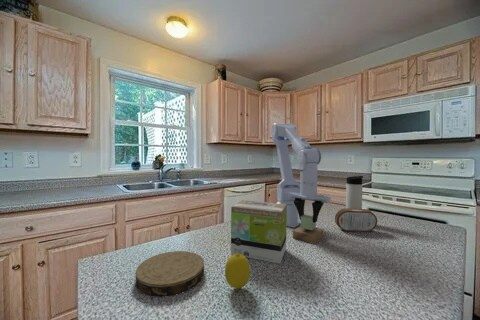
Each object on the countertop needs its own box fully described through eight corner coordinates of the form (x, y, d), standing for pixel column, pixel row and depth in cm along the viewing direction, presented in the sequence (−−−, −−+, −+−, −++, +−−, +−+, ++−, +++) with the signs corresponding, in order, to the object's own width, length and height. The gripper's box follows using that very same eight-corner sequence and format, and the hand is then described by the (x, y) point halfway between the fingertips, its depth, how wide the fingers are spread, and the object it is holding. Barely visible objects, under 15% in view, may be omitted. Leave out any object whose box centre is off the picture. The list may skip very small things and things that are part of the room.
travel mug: (365, 223, 95) (366, 176, 94) (349, 223, 95) (350, 176, 94) (357, 219, 101) (358, 175, 100) (343, 219, 101) (343, 175, 100)
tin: (374, 230, 87) (374, 208, 87) (378, 233, 84) (378, 210, 84) (334, 228, 89) (334, 207, 88) (337, 231, 86) (337, 209, 85)
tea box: (229, 256, 65) (229, 206, 65) (241, 243, 75) (241, 199, 74) (281, 265, 60) (281, 210, 60) (286, 249, 70) (287, 202, 69)
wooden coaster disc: (183, 304, 45) (183, 290, 45) (119, 291, 49) (119, 277, 49) (214, 266, 60) (214, 255, 60) (162, 258, 65) (162, 248, 64)
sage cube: (300, 227, 79) (300, 216, 79) (304, 224, 82) (305, 214, 82) (311, 230, 77) (311, 218, 77) (315, 227, 80) (315, 216, 80)
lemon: (224, 282, 52) (224, 248, 52) (248, 281, 53) (248, 247, 52) (225, 297, 47) (225, 259, 46) (251, 296, 47) (251, 258, 47)
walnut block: (292, 239, 79) (292, 230, 79) (301, 232, 85) (301, 224, 85) (315, 245, 74) (315, 236, 74) (323, 237, 80) (323, 229, 80)
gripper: (284, 182, 80) (284, 219, 81) (326, 185, 71) (325, 227, 72) (293, 180, 86) (293, 215, 86) (332, 183, 77) (332, 222, 77)
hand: (308, 220), depth 79 cm, fingers open, 4 cm apart
